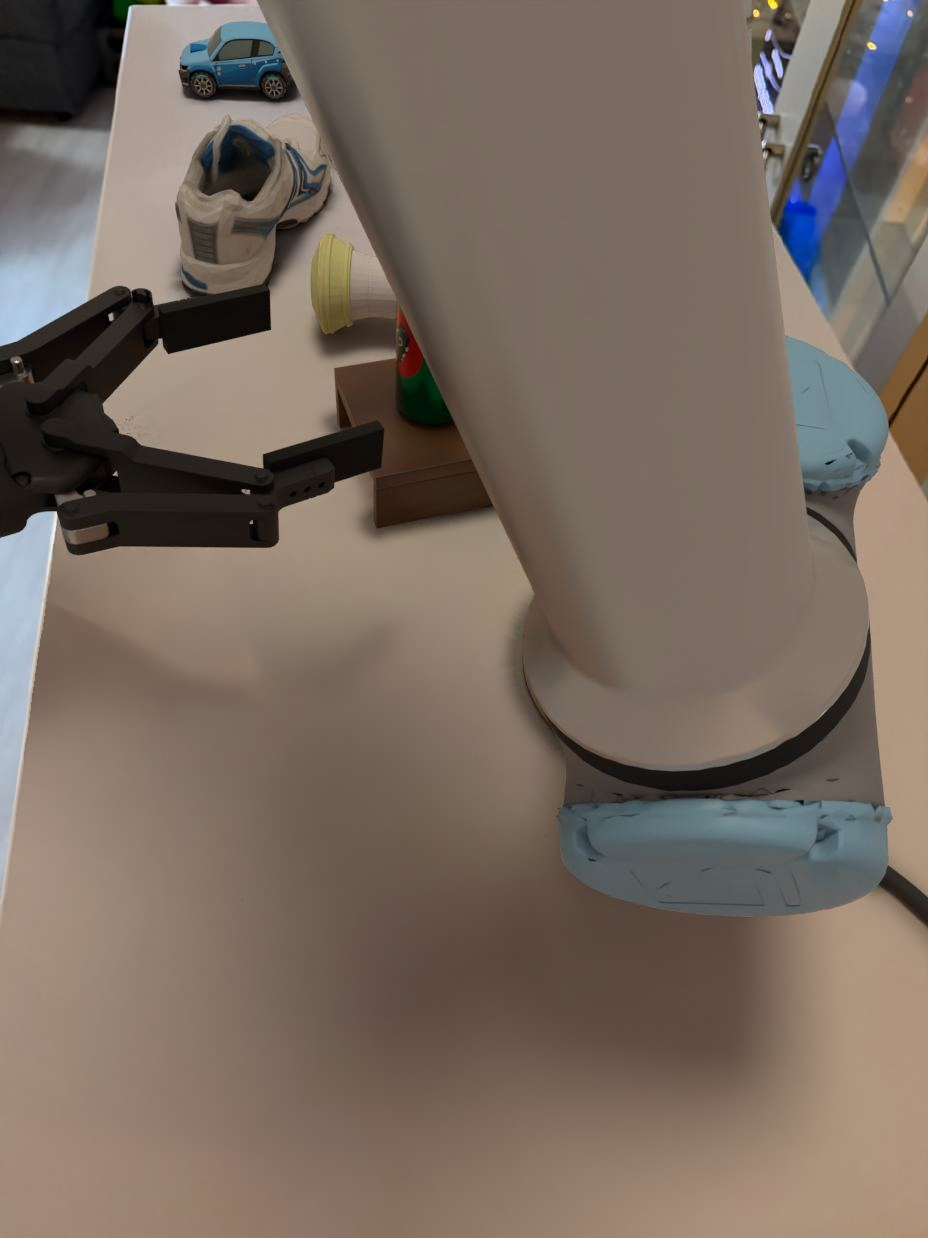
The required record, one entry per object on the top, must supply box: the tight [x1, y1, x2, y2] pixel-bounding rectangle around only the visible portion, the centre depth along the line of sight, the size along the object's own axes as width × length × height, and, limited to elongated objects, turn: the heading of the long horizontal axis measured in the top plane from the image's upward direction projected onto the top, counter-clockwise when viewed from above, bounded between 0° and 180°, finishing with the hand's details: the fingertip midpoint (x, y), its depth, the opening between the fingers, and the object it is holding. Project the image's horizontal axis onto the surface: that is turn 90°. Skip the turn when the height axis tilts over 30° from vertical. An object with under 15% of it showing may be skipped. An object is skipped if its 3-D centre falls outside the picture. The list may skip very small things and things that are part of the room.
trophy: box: [310, 232, 396, 335], centre depth 74 cm, size 8×8×30 cm
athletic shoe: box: [174, 113, 332, 296], centre depth 80 cm, size 10×23×12 cm, turn 174°
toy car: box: [177, 20, 295, 100], centre depth 96 cm, size 6×12×6 cm, turn 97°
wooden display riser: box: [333, 357, 493, 529], centre depth 65 cm, size 11×11×8 cm
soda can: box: [395, 299, 453, 426], centre depth 59 cm, size 5×5×12 cm
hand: (321, 371), depth 53 cm, fingers open, 13 cm apart
